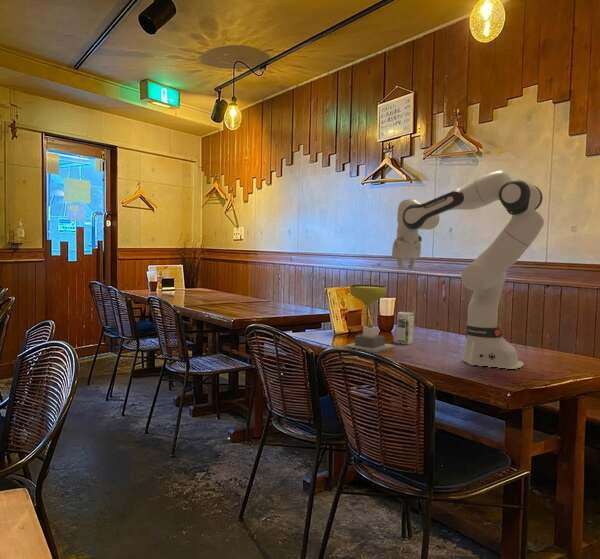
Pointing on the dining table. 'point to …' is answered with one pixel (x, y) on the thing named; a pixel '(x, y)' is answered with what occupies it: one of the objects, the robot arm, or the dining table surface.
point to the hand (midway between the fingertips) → (405, 268)
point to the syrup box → (405, 327)
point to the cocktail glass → (367, 294)
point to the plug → (370, 331)
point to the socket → (370, 343)
